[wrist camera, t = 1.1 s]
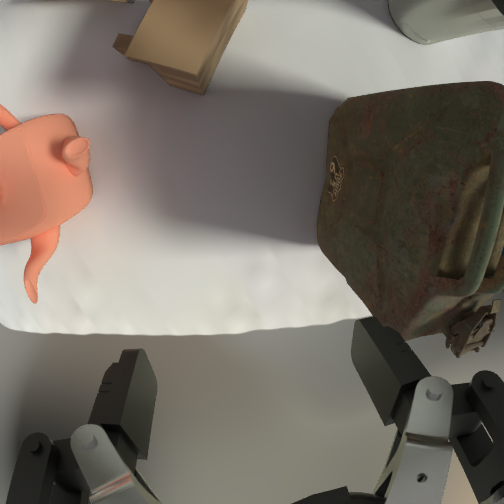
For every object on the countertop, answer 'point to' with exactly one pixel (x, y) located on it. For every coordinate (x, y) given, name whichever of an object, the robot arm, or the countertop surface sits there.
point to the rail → (129, 0)
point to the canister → (420, 208)
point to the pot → (40, 184)
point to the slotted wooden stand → (183, 39)
